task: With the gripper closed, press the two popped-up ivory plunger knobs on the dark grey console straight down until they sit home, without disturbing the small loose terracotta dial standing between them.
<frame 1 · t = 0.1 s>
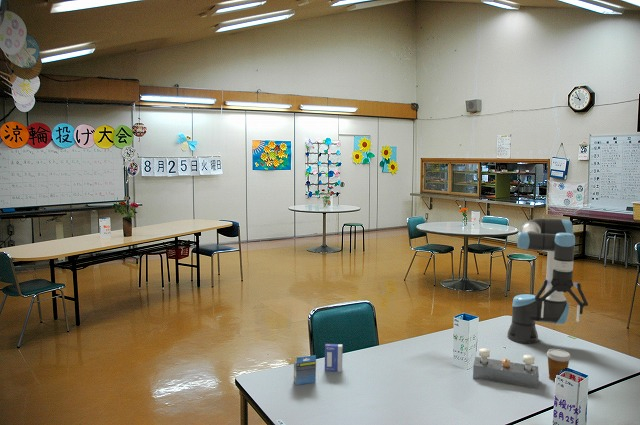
hand: (559, 318, 210), 28 cm above the table, fingers open, 13 cm apart
label tape box: (304, 382, 211), on the table
knob 2: (528, 365, 211), point 8 cm above the table, slide at 0.0 cm
disposable coffee cup: (556, 379, 216), on the table
walkman: (333, 370, 223), on the table
knob 1: (484, 358, 218), point 8 cm above the table, slide at 0.0 cm
dial: (505, 365, 214), point 6 cm above the table, touching console
console: (505, 379, 215), on the table
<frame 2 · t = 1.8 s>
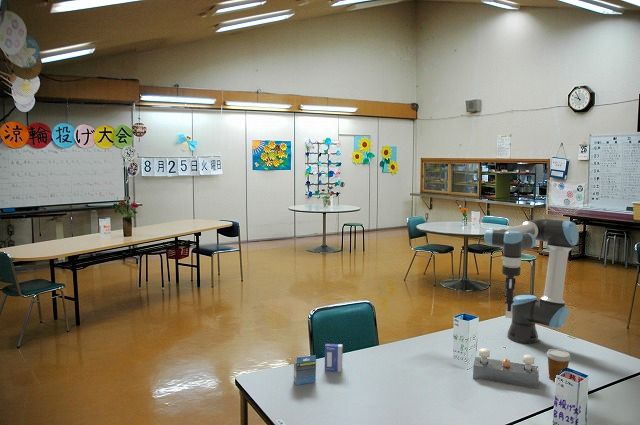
hand: (508, 317, 222), 24 cm above the table, fingers closed
nothing on the table moved.
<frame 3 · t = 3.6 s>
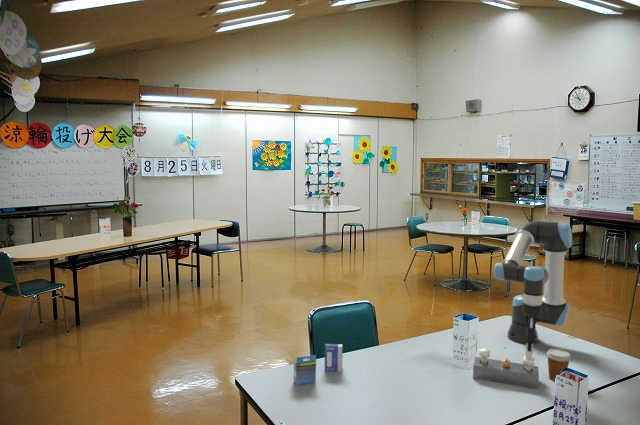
hand: (528, 357, 210), 11 cm above the table, fingers closed
knob 2: (528, 366, 211), point 7 cm above the table, slide at 0.5 cm, touching gripper
everything else where it was.
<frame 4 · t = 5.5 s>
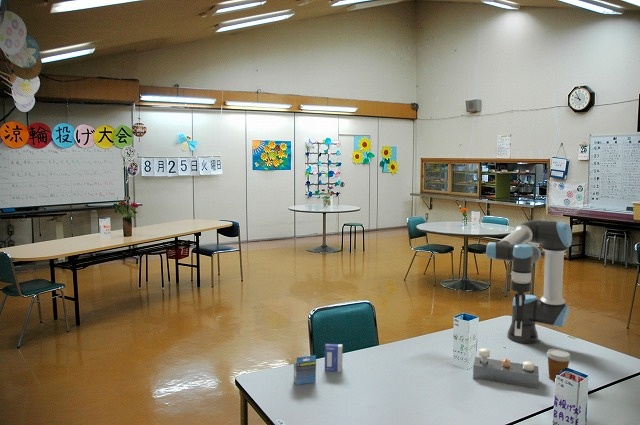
hand: (517, 335, 211), 20 cm above the table, fingers closed
knob 2: (528, 371, 211), point 5 cm above the table, slide at 2.9 cm
everything else where it was.
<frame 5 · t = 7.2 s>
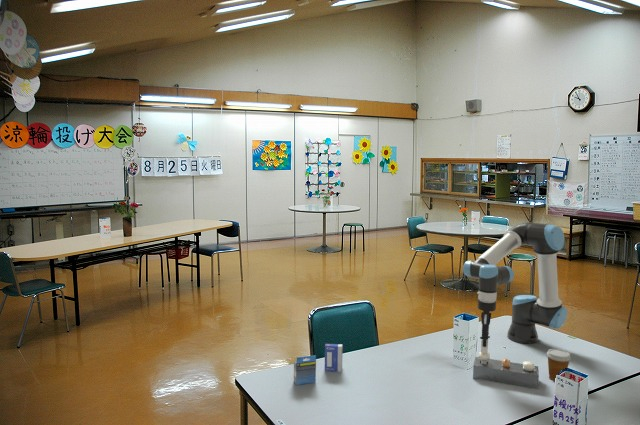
hand: (484, 352, 217), 11 cm above the table, fingers closed
knob 1: (484, 361, 218), point 6 cm above the table, slide at 1.4 cm, touching gripper
everything else where it was.
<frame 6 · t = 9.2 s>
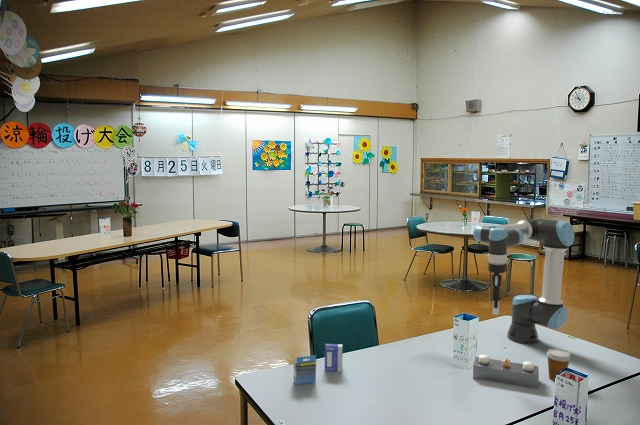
hand: (495, 314, 222), 26 cm above the table, fingers closed
knob 1: (483, 364, 218), point 5 cm above the table, slide at 2.9 cm
everything else where it was.
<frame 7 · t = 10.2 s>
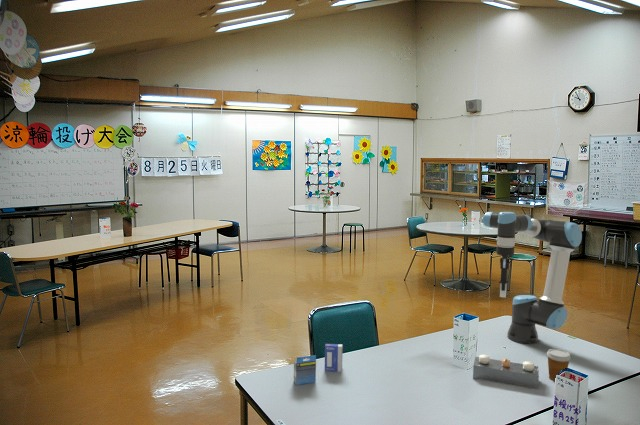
hand: (502, 296, 226), 32 cm above the table, fingers closed
nothing on the table moved.
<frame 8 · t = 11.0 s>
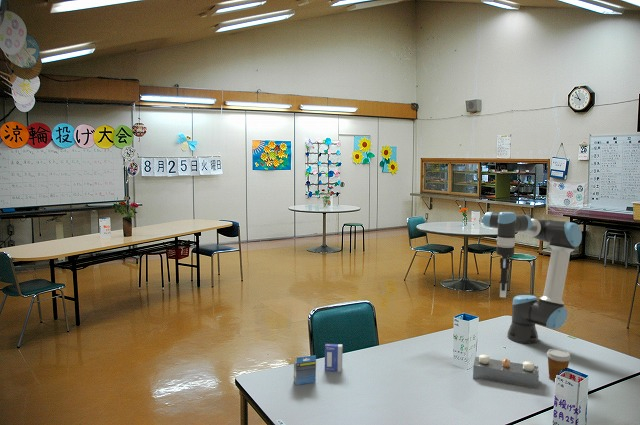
hand: (502, 296, 226), 32 cm above the table, fingers closed
nothing on the table moved.
at the end: knob 2 slide at 2.9 cm; knob 1 slide at 2.9 cm; dial moved 0.0 cm from its start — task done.
